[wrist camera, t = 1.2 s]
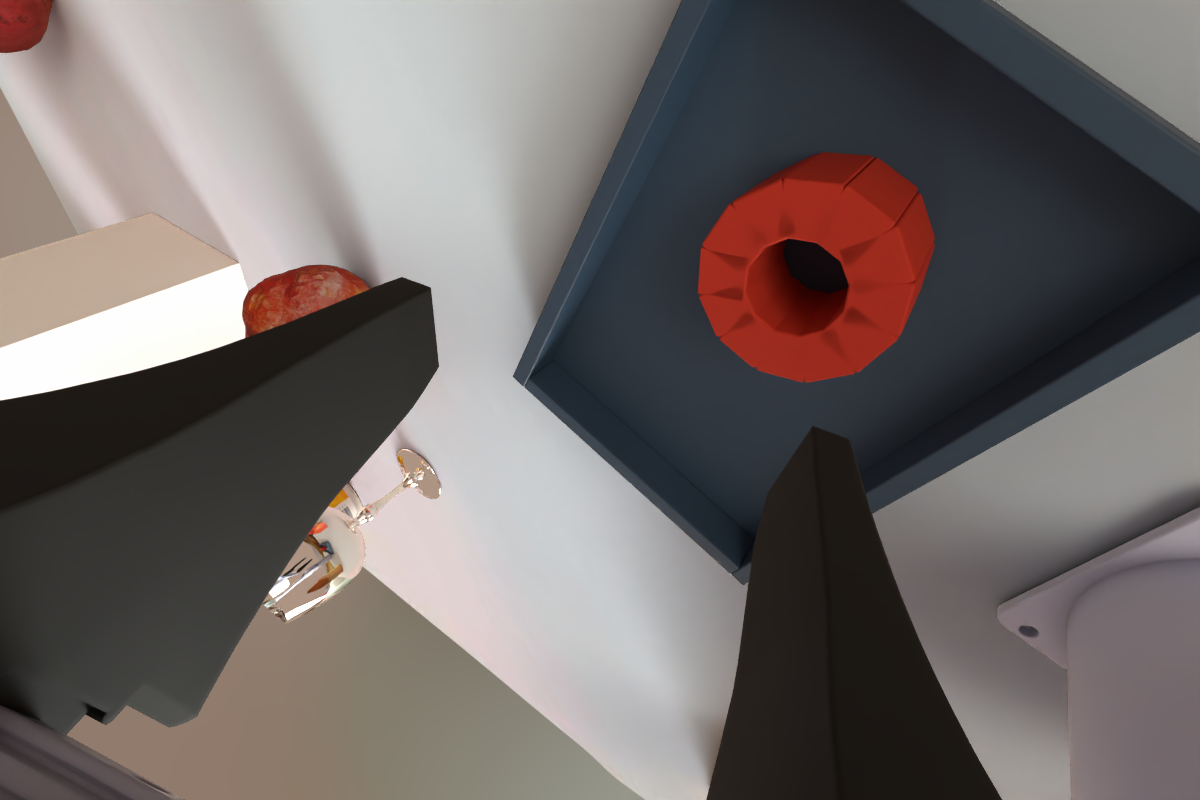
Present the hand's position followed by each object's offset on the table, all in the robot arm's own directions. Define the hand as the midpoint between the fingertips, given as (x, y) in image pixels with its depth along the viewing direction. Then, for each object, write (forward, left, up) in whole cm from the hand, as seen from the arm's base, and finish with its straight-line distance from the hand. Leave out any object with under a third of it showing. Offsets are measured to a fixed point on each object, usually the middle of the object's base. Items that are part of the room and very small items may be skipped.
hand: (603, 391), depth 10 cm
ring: (-2, 0, -10) cm, 10 cm away
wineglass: (+14, +29, -10) cm, 33 cm away
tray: (-1, +3, -10) cm, 11 cm away
